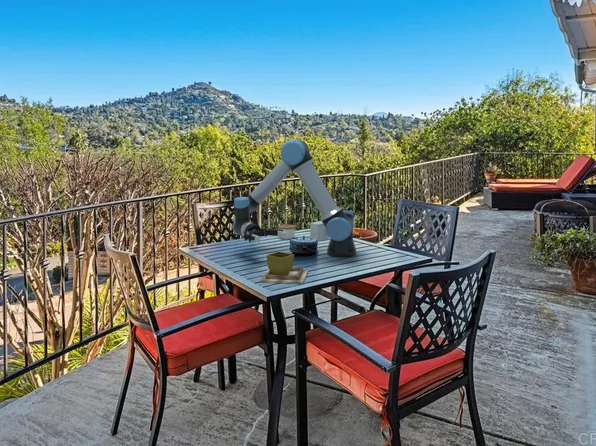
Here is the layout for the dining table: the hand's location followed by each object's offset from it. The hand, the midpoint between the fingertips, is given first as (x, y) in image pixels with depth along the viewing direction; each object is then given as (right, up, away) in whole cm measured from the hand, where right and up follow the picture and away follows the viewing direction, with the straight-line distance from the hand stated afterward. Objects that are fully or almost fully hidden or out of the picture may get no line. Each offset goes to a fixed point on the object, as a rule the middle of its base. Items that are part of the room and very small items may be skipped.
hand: (272, 237), depth 201 cm
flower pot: (+4, -16, -9) cm, 19 cm away
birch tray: (+6, -17, -8) cm, 20 cm away
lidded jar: (+5, -3, +72) cm, 72 cm away
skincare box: (+24, -3, +69) cm, 73 cm away
